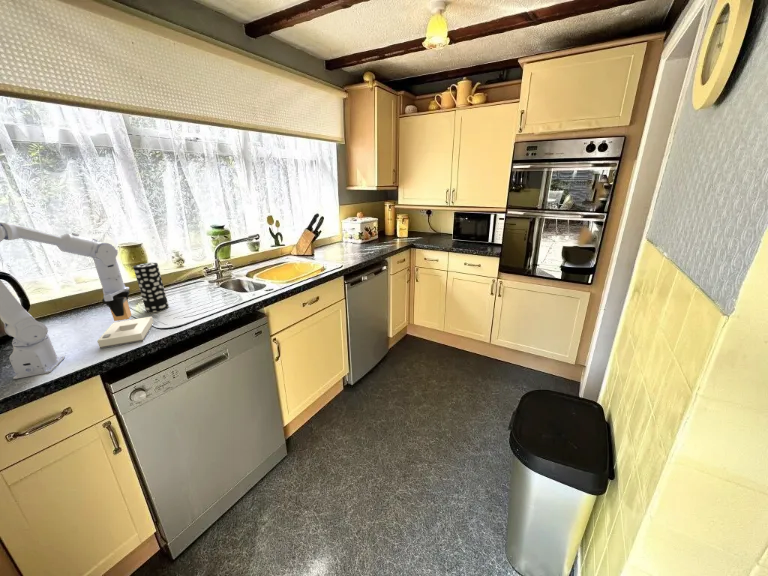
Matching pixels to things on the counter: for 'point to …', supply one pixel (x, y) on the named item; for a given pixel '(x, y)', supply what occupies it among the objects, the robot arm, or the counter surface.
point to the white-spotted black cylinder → (151, 287)
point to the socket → (125, 332)
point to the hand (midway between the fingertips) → (122, 313)
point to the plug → (126, 311)
